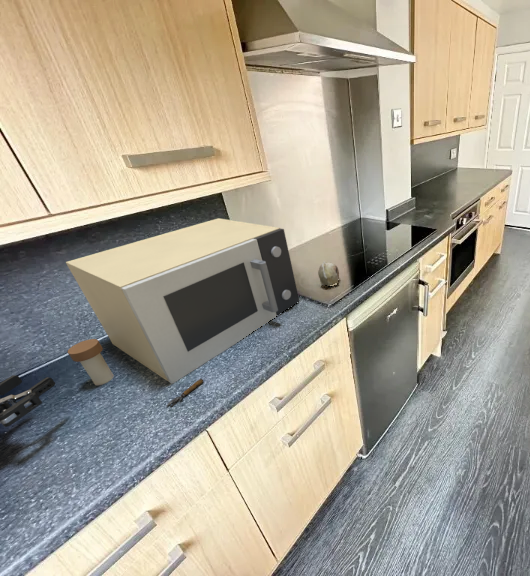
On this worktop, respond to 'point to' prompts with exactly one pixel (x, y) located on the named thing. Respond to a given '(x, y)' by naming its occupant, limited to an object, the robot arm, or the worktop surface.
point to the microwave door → (203, 307)
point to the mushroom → (91, 360)
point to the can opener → (186, 392)
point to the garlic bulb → (328, 274)
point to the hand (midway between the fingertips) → (35, 379)
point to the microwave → (162, 257)
